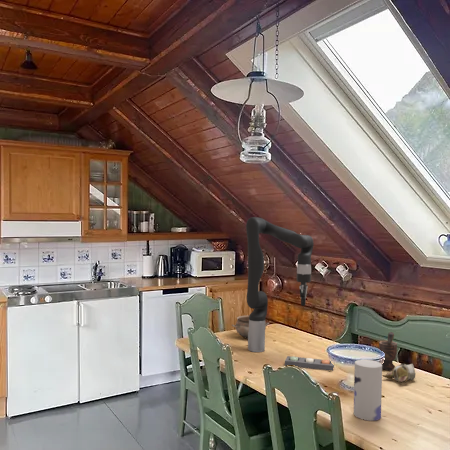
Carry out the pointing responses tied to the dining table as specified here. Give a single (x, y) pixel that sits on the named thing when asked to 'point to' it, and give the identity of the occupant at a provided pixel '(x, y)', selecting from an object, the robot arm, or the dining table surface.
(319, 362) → the control strip
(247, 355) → the dining table surface
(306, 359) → the cream button
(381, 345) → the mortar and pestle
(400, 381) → the ceramic sculpture
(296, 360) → the sage button
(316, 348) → the dining table surface
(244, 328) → the cooking pot
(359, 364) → the container
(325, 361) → the terracotta button
